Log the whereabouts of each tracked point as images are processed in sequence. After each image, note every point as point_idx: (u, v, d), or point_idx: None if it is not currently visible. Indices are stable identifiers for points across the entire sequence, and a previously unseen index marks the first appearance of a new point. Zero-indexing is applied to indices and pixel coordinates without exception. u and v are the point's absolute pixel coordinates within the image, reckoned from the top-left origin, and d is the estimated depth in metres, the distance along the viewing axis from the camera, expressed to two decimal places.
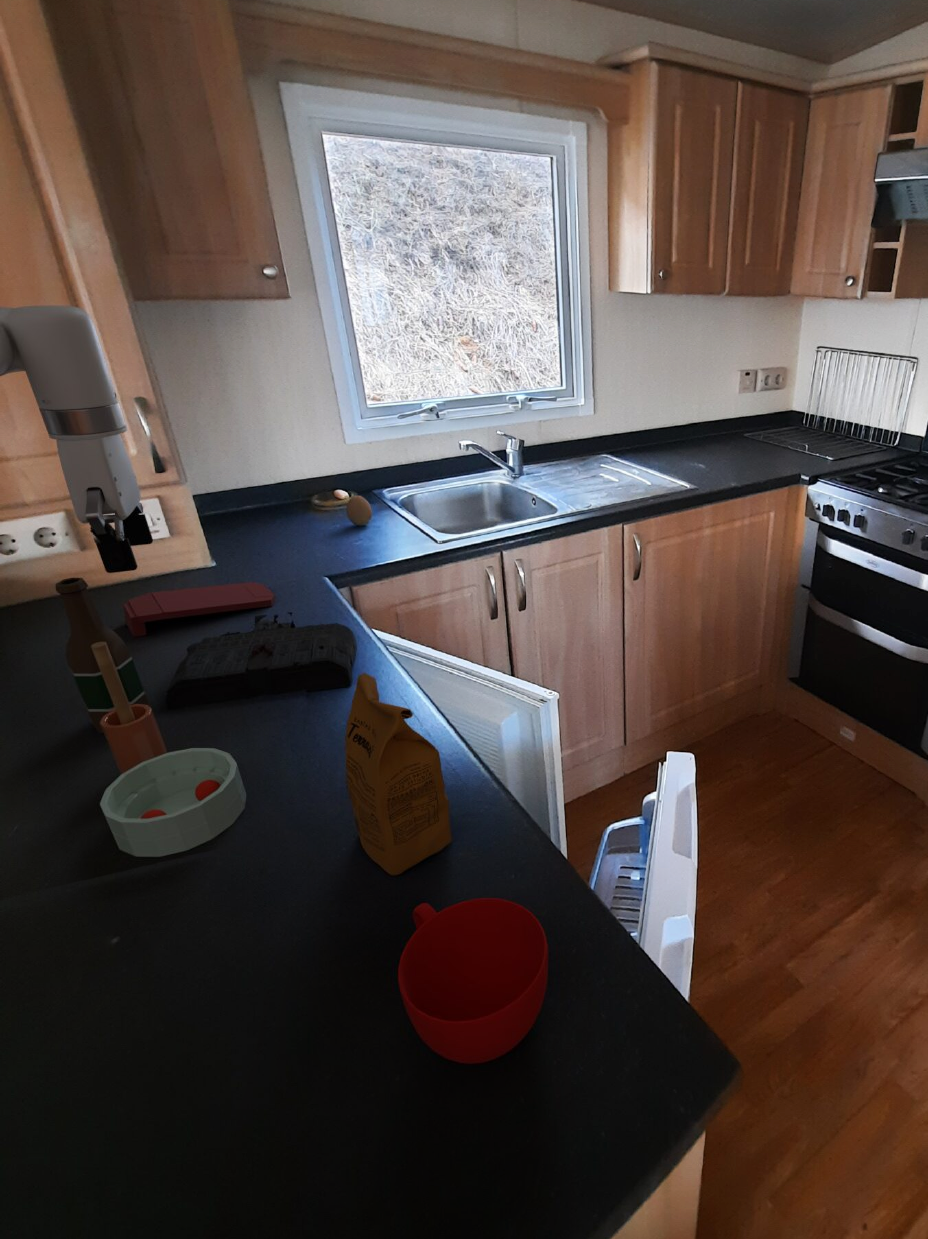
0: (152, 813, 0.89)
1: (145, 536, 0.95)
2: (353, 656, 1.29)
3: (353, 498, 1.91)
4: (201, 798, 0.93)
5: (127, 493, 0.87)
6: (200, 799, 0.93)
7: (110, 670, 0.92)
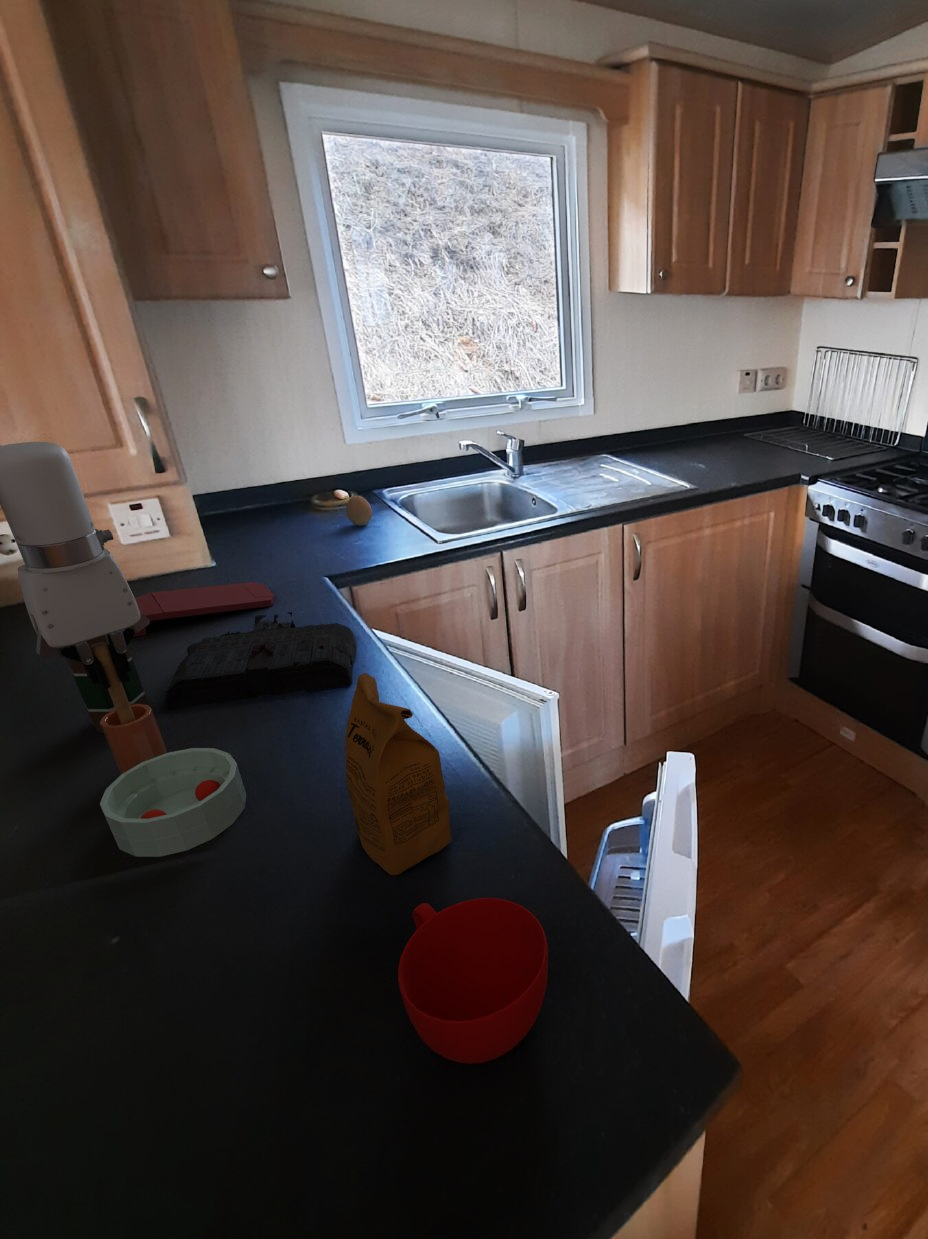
0: (152, 813, 0.89)
1: (119, 674, 0.93)
2: (353, 656, 1.29)
3: (353, 498, 1.91)
4: (201, 798, 0.93)
5: (75, 624, 0.87)
6: (200, 799, 0.93)
7: (110, 670, 0.92)
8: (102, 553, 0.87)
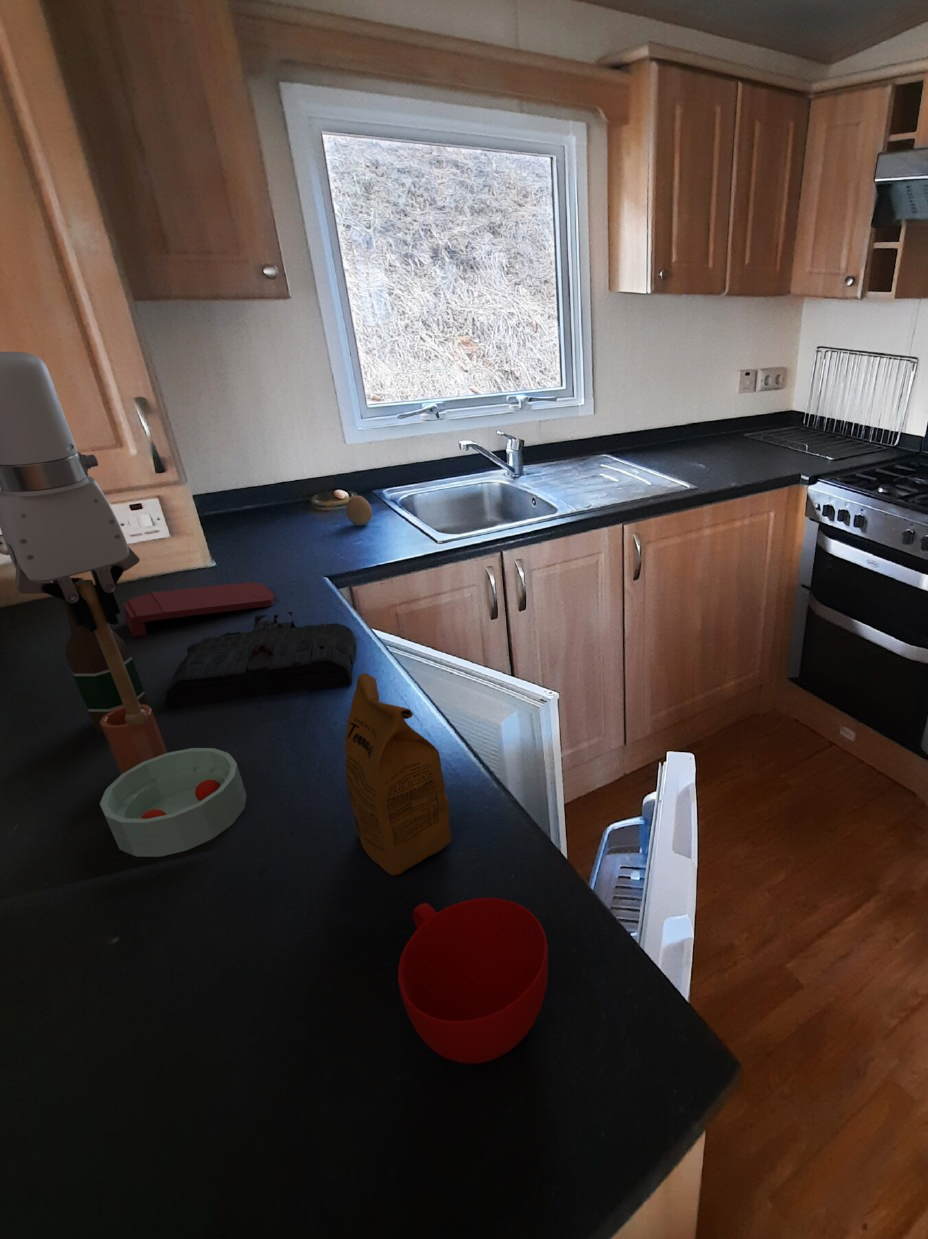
0: (152, 813, 0.89)
1: (107, 615, 0.86)
2: (353, 656, 1.29)
3: (353, 498, 1.91)
4: (201, 798, 0.93)
5: (57, 556, 0.79)
6: (200, 799, 0.93)
7: (97, 610, 0.85)
8: (85, 479, 0.80)
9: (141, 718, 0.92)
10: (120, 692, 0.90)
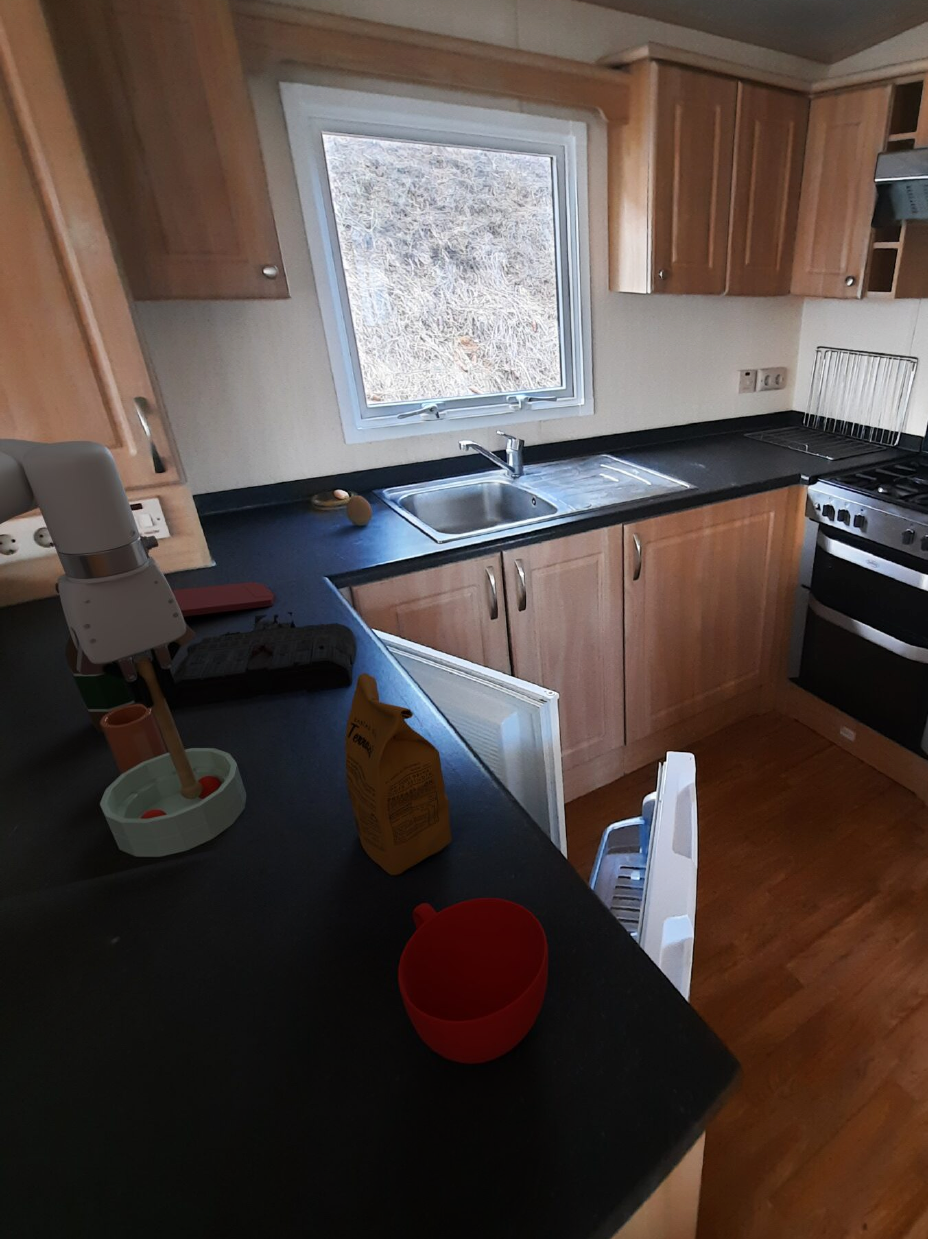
0: (152, 813, 0.89)
1: (163, 691, 0.86)
2: (353, 656, 1.29)
3: (353, 498, 1.91)
4: None
5: (118, 638, 0.80)
6: None
7: (153, 686, 0.86)
8: (147, 562, 0.80)
9: (195, 791, 0.92)
10: (175, 765, 0.90)
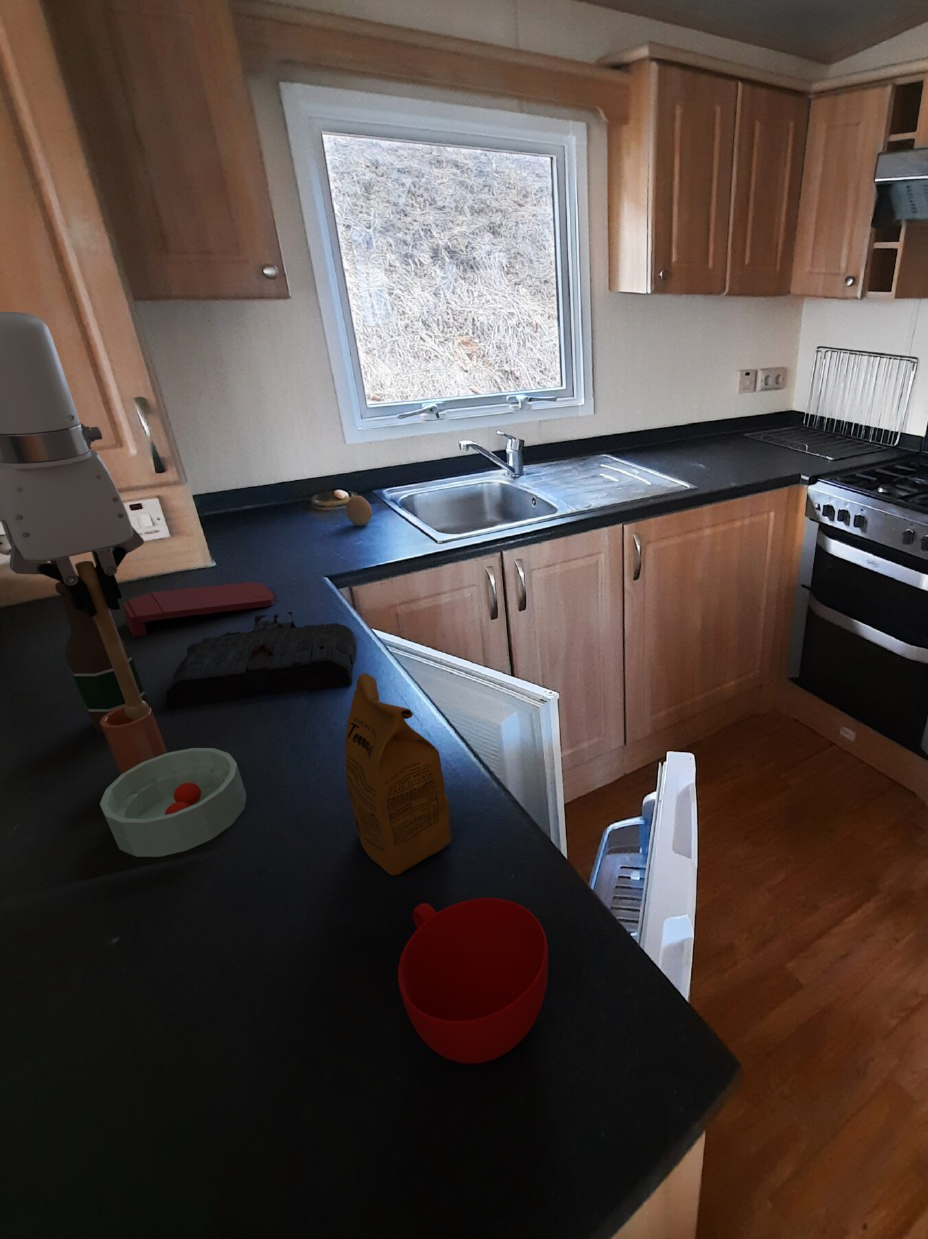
0: None
1: (108, 600, 0.80)
2: (353, 656, 1.29)
3: (353, 498, 1.91)
4: None
5: (55, 534, 0.74)
6: None
7: (97, 594, 0.79)
8: (88, 453, 0.74)
9: (141, 710, 0.86)
10: (119, 682, 0.84)
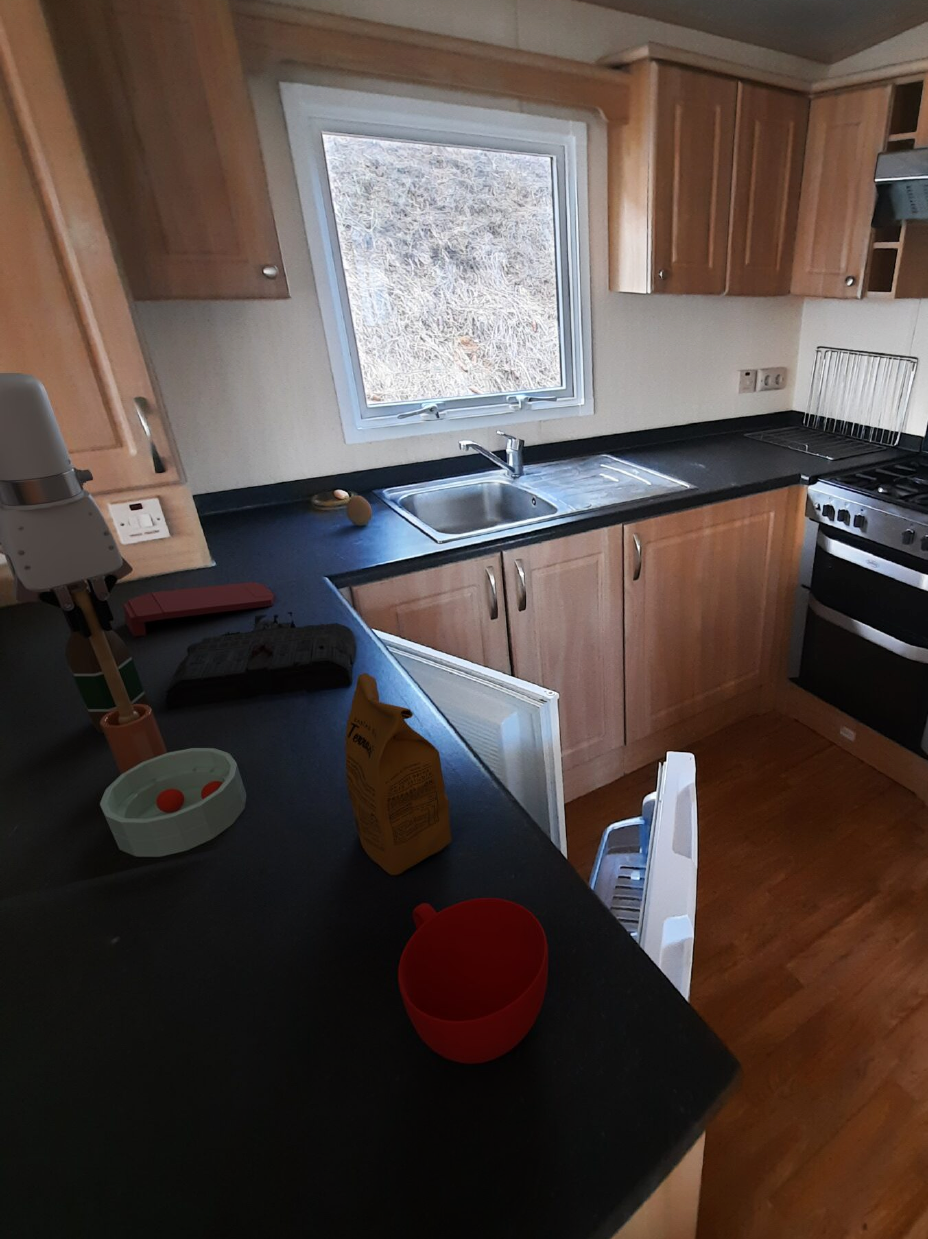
0: None
1: (101, 622, 0.90)
2: (353, 656, 1.29)
3: (353, 498, 1.91)
4: (182, 804, 0.93)
5: (53, 566, 0.83)
6: (183, 802, 0.94)
7: (91, 617, 0.89)
8: (80, 493, 0.84)
9: (133, 720, 0.96)
10: (113, 695, 0.94)
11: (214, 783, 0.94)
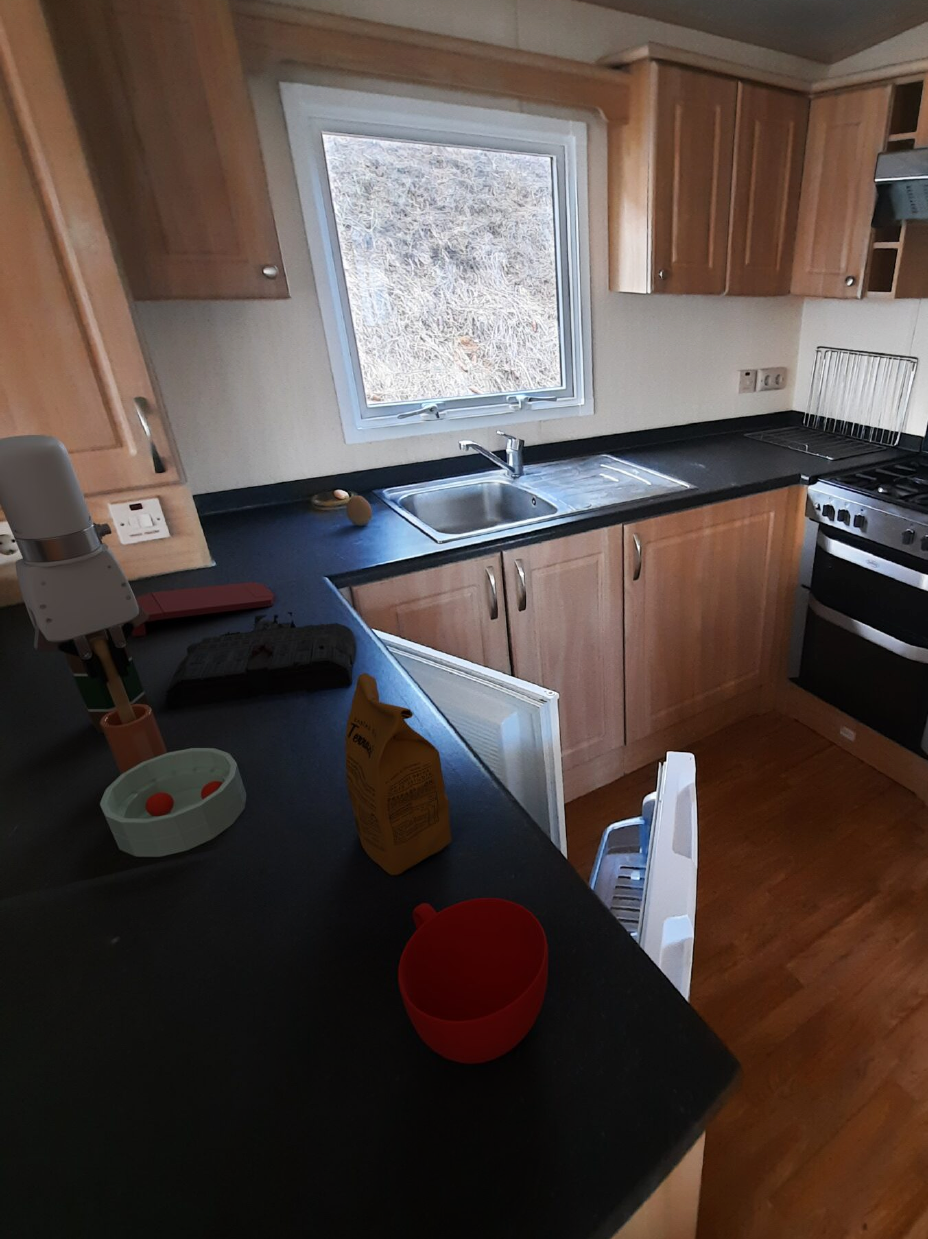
0: None
1: (118, 669, 0.93)
2: (353, 656, 1.29)
3: (353, 498, 1.91)
4: (172, 801, 0.93)
5: (73, 618, 0.86)
6: (171, 799, 0.93)
7: (109, 664, 0.92)
8: (100, 547, 0.87)
9: None
10: None
11: (213, 783, 0.94)
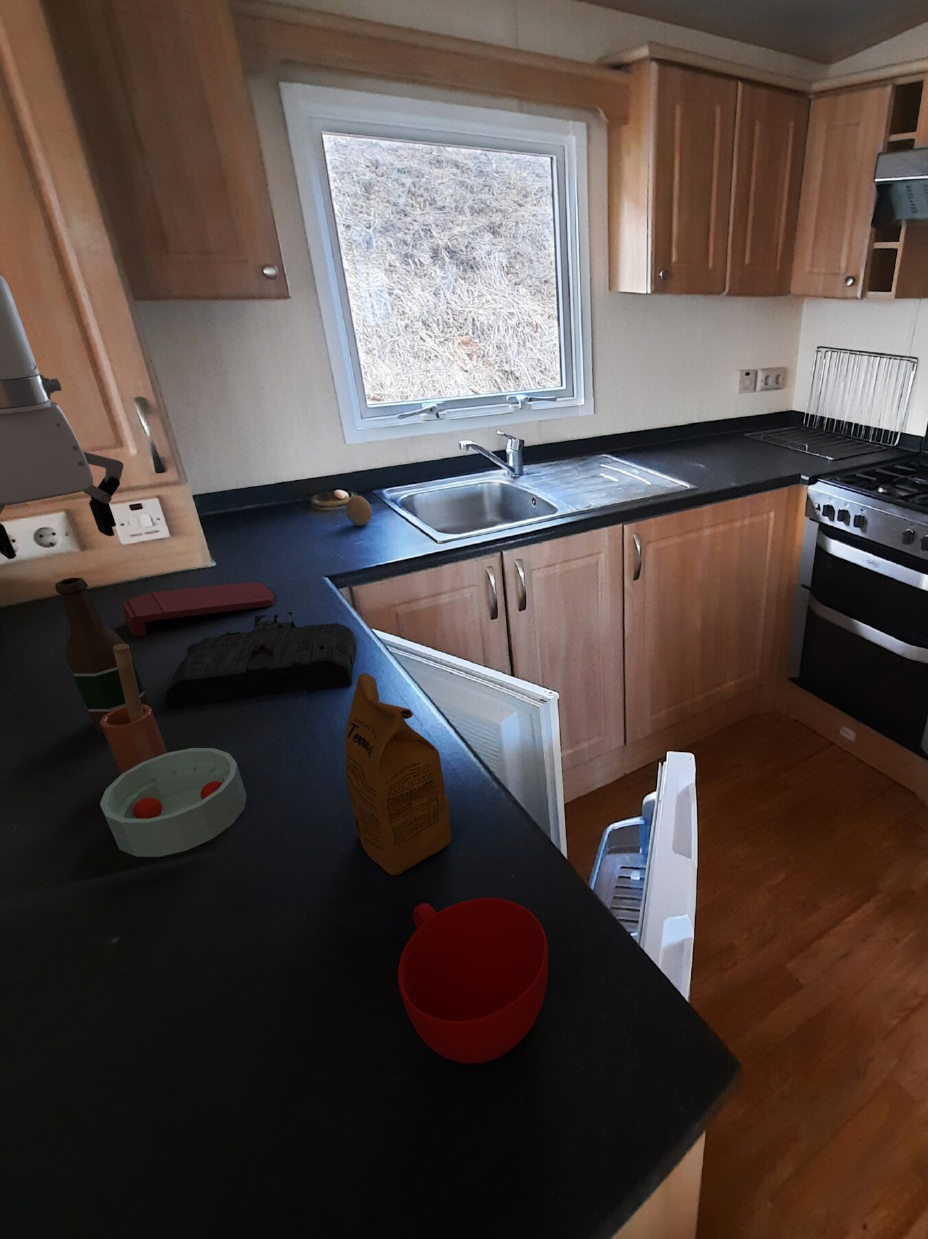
0: None
1: (103, 527, 0.87)
2: (353, 656, 1.29)
3: (353, 498, 1.91)
4: (153, 804, 0.91)
5: (17, 479, 0.79)
6: (150, 803, 0.91)
7: (128, 672, 0.92)
8: (47, 402, 0.79)
9: None
10: None
11: (213, 783, 0.94)
